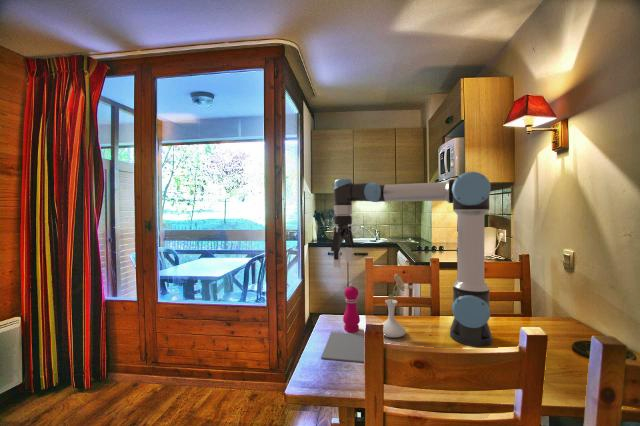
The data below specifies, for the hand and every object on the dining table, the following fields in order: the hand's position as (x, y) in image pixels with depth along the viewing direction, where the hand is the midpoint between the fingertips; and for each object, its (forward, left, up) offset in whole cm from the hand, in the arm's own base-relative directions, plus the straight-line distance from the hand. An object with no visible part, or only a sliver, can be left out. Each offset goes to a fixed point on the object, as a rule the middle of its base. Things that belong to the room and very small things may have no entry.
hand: (343, 264), depth 131 cm
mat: (-7, +15, -28) cm, 32 cm away
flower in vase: (-20, -4, -28) cm, 35 cm away
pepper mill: (-3, -1, -28) cm, 28 cm away
